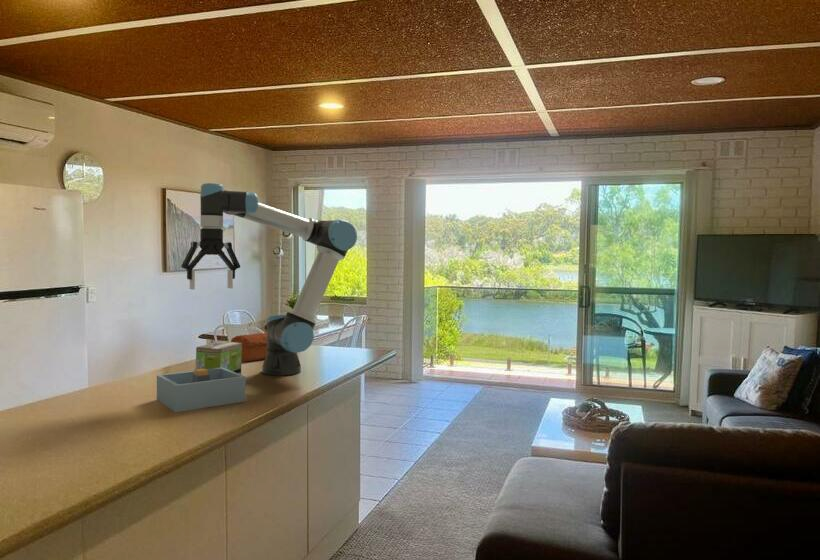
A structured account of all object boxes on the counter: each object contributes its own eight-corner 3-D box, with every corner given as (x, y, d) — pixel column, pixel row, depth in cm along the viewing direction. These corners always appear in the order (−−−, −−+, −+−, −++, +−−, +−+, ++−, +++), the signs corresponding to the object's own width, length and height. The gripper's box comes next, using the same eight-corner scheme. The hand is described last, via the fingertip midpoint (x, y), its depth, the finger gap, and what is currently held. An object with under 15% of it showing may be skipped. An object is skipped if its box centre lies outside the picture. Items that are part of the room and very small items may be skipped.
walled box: (222, 390, 205) (223, 367, 204) (245, 401, 191) (245, 376, 190) (156, 399, 190) (156, 375, 190) (176, 412, 177) (176, 385, 176)
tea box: (220, 390, 204) (220, 348, 203) (194, 388, 206) (194, 346, 205) (242, 381, 219) (242, 341, 218) (217, 379, 221) (217, 340, 220)
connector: (209, 400, 190) (209, 370, 190) (197, 402, 188) (197, 371, 187) (204, 398, 193) (204, 368, 193) (192, 400, 191) (192, 369, 190)
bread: (224, 358, 263) (224, 334, 263) (273, 351, 284) (274, 329, 283) (245, 363, 253) (245, 338, 253) (294, 355, 274) (294, 333, 273)
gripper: (240, 229, 218) (240, 287, 219) (171, 226, 202) (171, 288, 203) (249, 229, 212) (249, 288, 213) (179, 226, 196) (179, 290, 197)
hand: (211, 288), depth 208 cm, fingers open, 13 cm apart
